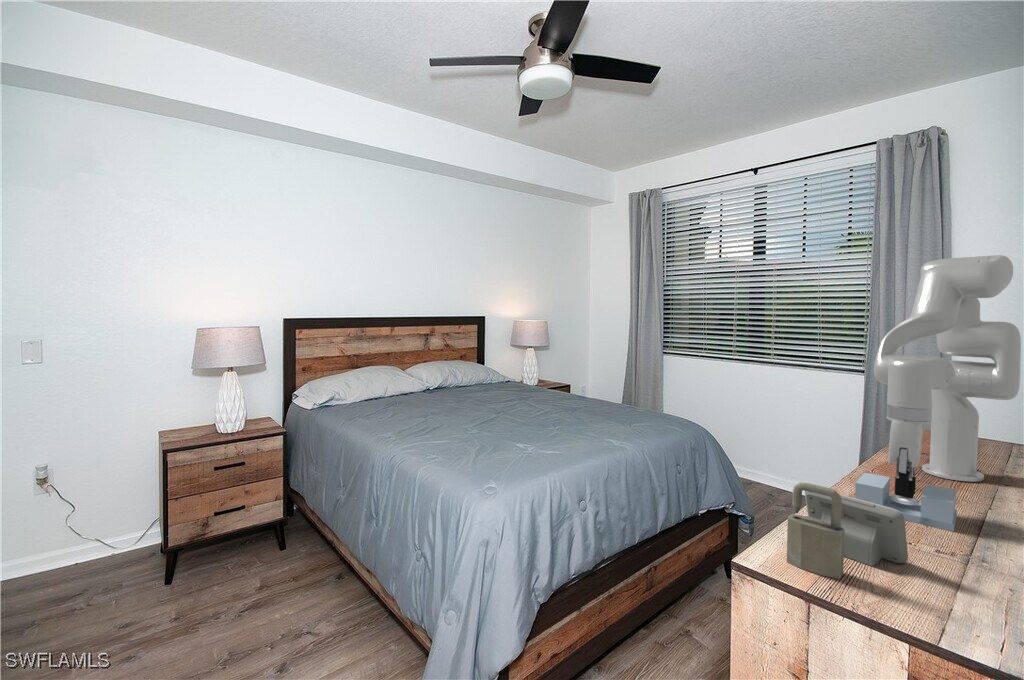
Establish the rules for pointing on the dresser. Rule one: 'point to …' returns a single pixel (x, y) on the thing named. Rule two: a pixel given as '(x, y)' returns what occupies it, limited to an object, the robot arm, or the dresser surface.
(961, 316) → the robot arm
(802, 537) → the padlock
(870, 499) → the slot block
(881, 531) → the digital clock
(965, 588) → the dresser surface
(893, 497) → the chess piece
